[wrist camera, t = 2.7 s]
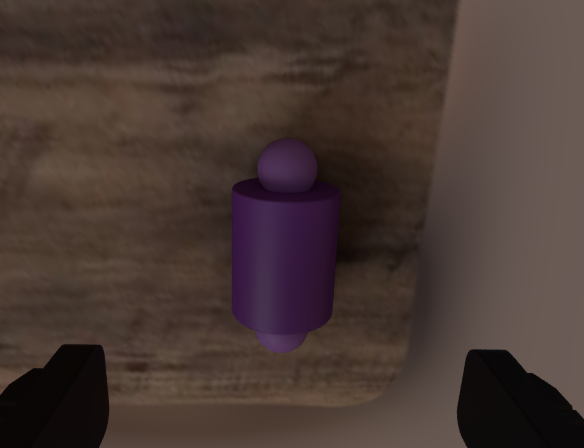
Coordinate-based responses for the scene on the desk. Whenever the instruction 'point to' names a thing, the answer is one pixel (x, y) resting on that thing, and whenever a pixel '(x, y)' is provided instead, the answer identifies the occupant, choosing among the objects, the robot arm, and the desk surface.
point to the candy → (284, 246)
